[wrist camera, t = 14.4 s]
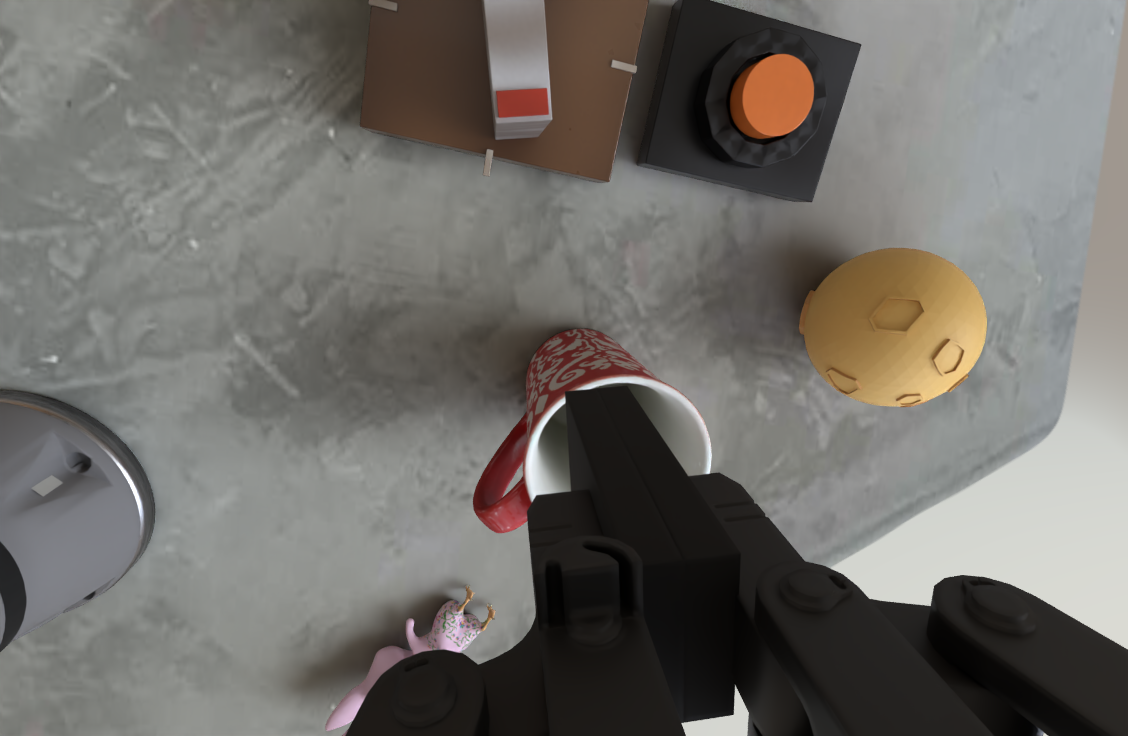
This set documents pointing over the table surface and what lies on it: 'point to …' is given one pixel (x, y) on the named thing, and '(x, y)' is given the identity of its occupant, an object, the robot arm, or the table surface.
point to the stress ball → (894, 327)
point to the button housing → (702, 101)
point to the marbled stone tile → (517, 67)
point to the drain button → (772, 96)
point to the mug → (543, 428)
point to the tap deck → (462, 88)
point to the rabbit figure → (414, 652)
